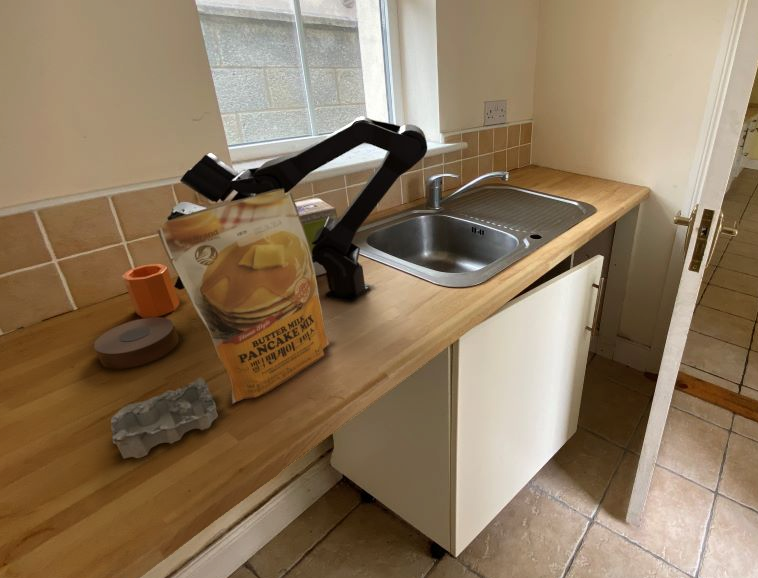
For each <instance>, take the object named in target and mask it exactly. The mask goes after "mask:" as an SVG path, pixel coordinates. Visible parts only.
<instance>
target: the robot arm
mask: <svg viewBox="0 0 758 578" xmlns="http://www.w3.org/2000/svg"><path fill="white" fill-rule="evenodd" d="M427 142H428V141H427V138H426V134H425V132H424V131H423V130H422V129H421V128H420V127H419V126H417V125H416V124H411V123H410V124H404V125H398V124H394V123H391V122H386V121H381V120H375V119H372V118H369V117H368V116H367V117H366V116H359V117H356V118H355V119H354V120H353V121H352V122H350V123H349V124H347V125H345V126H343V127H342V128H339V129H338V130H336V131H334V132H332V133H331V134H329V135H326V136H325V137H324V138H321V139H320V140H318V141H316V142H314V143H313V144H311V145H309V146H307V147H305V148H304V149H302V150H300V151H297V152H294V153H290V154H286V155H285V154H284V155H282V156H279V157H275V158H273V159H270V160H267V161H265V162H264V163H262V165H260V166H258V167H252V168H247V169H242V170H241V171H240V172H237V171H236V170H235V169H233V168H231V166H229V165H227V164H226V163H224V162H223V161H222V160H221V159H219V158H218V156H216V155H215V154H213V153H212V152H208V153H206V154H205V155H203V156H202V158H201V159H200V160H199V161H198V162H196V163H195V164H194V166H192V167H191V168H189V169H188V170H186V172H185V173H184V174H183V175H182V177H181V179H180V180H179V182H180V183H181V184H183V185H185V186H186V187H188V188H190V189H191V190H193V191H195V192H196V193H198V194H199V195H201V196H202V197H204V198H205V199H207V200H208V201H210V202H211V203H216V204H217V203H218V202H219V201H221V202H222V203H225V202H226V200H227V199H228V198H229V197H230V195H232V193H233V192H234V191H235V192H236V193H235V195H234V196H233V197H232V198H231V199H230V201H229V202H231V201H235V200H240V199H245V198H249V197H252V196H255V195H258V194H261V193H265V192H268V191H272V190H276V189H283V188H284V193H287V192H291V190H292V189H293V188H294V187H296V186H297V185H298V184H299V183H300V182H301V181H302V180H303V179H304V178H305V177H307V176H308V175H309V174H310V173H312V172H314V171H316V170H318V169H320V168H322V167H323V166H325V165H326V164H327V165H328V164H329V163H330V162H332V161H334V160H336V159H337V158H339V157H341V156H343V155H345V154H347V153H348V152H350V151H352V150H354V149H355V148H357V147H360V146H361V145H363V144H367V145H370V146H373V147H375V148H379V149H381V150H383V151H386V153H385V155H384V157H383V160H382V162H381V163H380V164H379V166H378V167H377V168H376V170H375V171H374V172H373V173H372V174H371V176H370V177H369V179H368V180H367V181H366V182H365V184H364V185H363V187H362V188H361V189H360V191H359V192H358V193H357V194H356V196H355V197H354V198H353V200H352V201H351V202H350V204H349V205H348V206H347V207H346V209H345V210H344V211H343V213H342V214H341V215H340V216H338V217H337V219H336V220H333V219H332V218H330V217H329V216H328V218H327V220H326V222H325V224H324V225H323V226H322V227H321V228H320V229H318V230H317V232H316V235H315V237H314V239H313V242H312V244H315V245H314V247H313V250H312V255H313V258H314V260H315V261H316V262H317V263H319V264H320V265H322V266H323V267H324V269H325V270H326V273H325V276H326V281H327V286H328V290H329V291H327V292H326V293H325V294H324V295H325V297H326V298H330V299H333V300H339V301H344V302H348V303H349V302H350V303H353V302H355V301H356V300H357V299H358V298H359V297H361V296H362V295H363V294H365V293H366V292H367V291H369V289H371V285H370V284H367V283H365V275H364V268H363V267H364V266H363V264H360V262H359V257H360V251H361V247H360V246H358V245H357V244H355V243H354V242H353V240H354V238H355V236H356V233H357V232H358V230H359V229H360V228H361V226H362V225H363V224H364V222H365V221H366V220H367V219H368V217H369V216H370V215H371V213H372V212H373V211H374V209H376V208H377V206H378V204H379V203H380V202H381V201H382V199H383V198H384V197H385V196H386V194H387V193H388V191H389V190H390V189H391V188H392V187H393V185H394V184H395V182H396V181H397V180H398V179H399V177H401V176H402V175H403V174H405V173H406V172H409V171H410V170H411V169H412V168H413V167H414V166H415V165H417V164H418V163H419V162H420V161H421V160H422V159H423V158H425V157H426V154H427V152H428V143H427ZM206 208H207V207H205V206H203V205H198V204H195V203H192V202H188V201H180V202H179V203H177V204H176V205H175V206H173V207H172V209H171V211H170V212H171V213H170V215H168V216H167V218H166V219H167V221H169V220H172V219H175V218H177V217H180V216H183V215H186V214H189V213H193V212H196V211H199V210H203V209H206ZM173 286H174V288H175V289H176V290H179V291H181V290H185V288H184V286H183V284H182V281H181V279H180V277H179V275H178V277H177V279H176V281H175V284H174V285H173Z"/></svg>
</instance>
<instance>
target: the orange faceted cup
mask: <svg viewBox="0 0 758 578" xmlns="http://www.w3.org/2000/svg"><path fill="white" fill-rule="evenodd" d="M121 278H122V280H123V283H124V285H125V287H126V291H127V293H128V296H129V298H130V301H131V303H132V305H133V308H134V310H135V313H136V315H138V316H139V317H141V318H142V319H144V318H153V317H162V316H165V315H166V314H169V313H172V312H174V311H176V309H178V307H179V305H180V304H181V303H180V300H179V297H178V294H177V292H176V288H175V287H174V286H175V285H174V283H173V280H172V277H171V275H170V271H169V269H168V266H166V265H163V264H161V263H153V264H152V263H151V264H143V265H141V266H137V267H134V268H131V269H128V270H127V271H125V273H124V274H122V275H121Z"/></svg>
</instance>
